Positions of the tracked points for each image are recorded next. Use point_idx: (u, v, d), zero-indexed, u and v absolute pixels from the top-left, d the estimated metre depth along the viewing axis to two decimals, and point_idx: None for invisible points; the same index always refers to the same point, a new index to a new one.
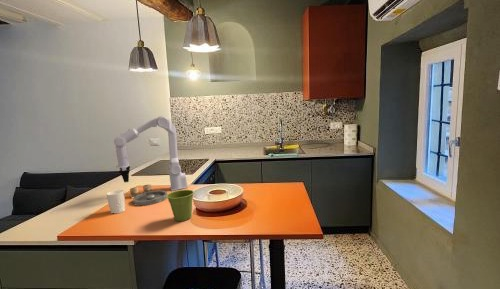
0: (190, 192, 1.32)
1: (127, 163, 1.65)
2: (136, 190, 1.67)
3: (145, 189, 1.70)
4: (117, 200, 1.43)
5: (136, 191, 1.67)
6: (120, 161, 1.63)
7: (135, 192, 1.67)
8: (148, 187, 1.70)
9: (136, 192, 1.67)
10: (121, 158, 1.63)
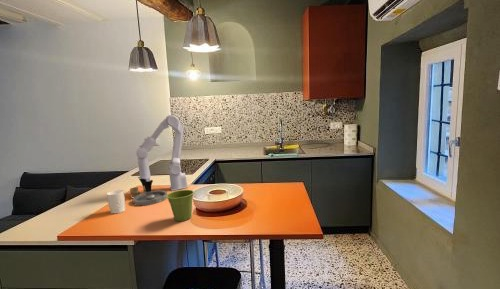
0: (190, 192, 1.32)
1: (149, 174, 1.70)
2: (136, 190, 1.67)
3: (145, 189, 1.70)
4: (117, 200, 1.43)
5: (136, 191, 1.67)
6: (143, 172, 1.68)
7: (135, 192, 1.67)
8: None
9: (136, 192, 1.67)
10: (144, 169, 1.67)
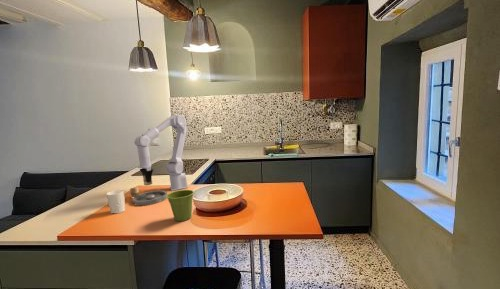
0: (190, 192, 1.32)
1: (149, 163, 1.62)
2: (136, 190, 1.67)
3: (145, 179, 1.61)
4: (117, 200, 1.43)
5: (136, 191, 1.67)
6: (143, 161, 1.59)
7: (135, 192, 1.67)
8: None
9: (136, 192, 1.67)
10: (144, 158, 1.59)
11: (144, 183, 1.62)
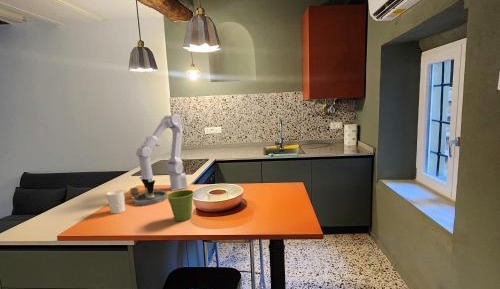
0: (190, 192, 1.32)
1: (151, 174, 1.63)
2: (136, 190, 1.67)
3: (147, 191, 1.62)
4: (117, 200, 1.43)
5: (136, 191, 1.67)
6: (144, 172, 1.60)
7: (135, 192, 1.67)
8: None
9: (136, 192, 1.67)
10: (146, 169, 1.60)
11: (146, 195, 1.63)
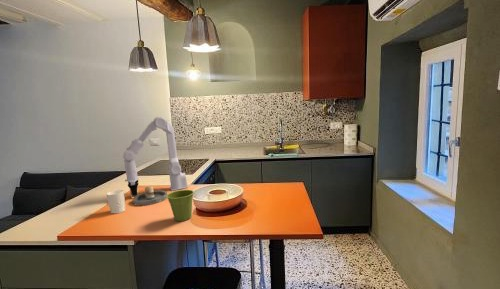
0: (190, 192, 1.32)
1: (135, 177, 1.66)
2: None
3: (147, 191, 1.62)
4: (117, 200, 1.43)
5: None
6: (129, 175, 1.64)
7: None
8: (150, 189, 1.63)
9: None
10: (130, 172, 1.64)
11: (146, 195, 1.63)
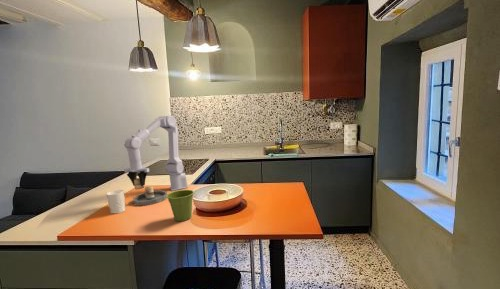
0: (190, 192, 1.32)
1: (141, 166, 1.56)
2: None
3: (147, 191, 1.62)
4: (117, 200, 1.43)
5: None
6: (137, 164, 1.52)
7: None
8: (150, 189, 1.63)
9: None
10: (138, 160, 1.53)
11: (146, 195, 1.63)
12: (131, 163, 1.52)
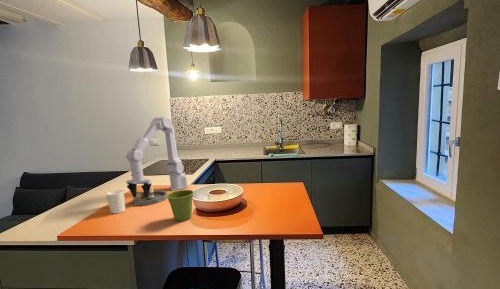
0: (190, 192, 1.32)
1: (143, 177, 1.57)
2: None
3: None
4: (117, 200, 1.43)
5: None
6: (139, 176, 1.53)
7: None
8: (150, 189, 1.63)
9: None
10: (140, 172, 1.54)
11: None
12: (133, 175, 1.53)
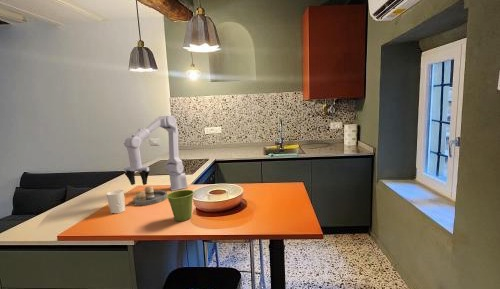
0: (190, 192, 1.32)
1: (141, 165, 1.56)
2: (144, 193, 1.57)
3: (147, 191, 1.62)
4: (117, 200, 1.43)
5: None
6: (137, 163, 1.52)
7: (144, 195, 1.57)
8: (150, 189, 1.63)
9: None
10: (138, 159, 1.53)
11: (146, 195, 1.63)
12: (131, 162, 1.52)
